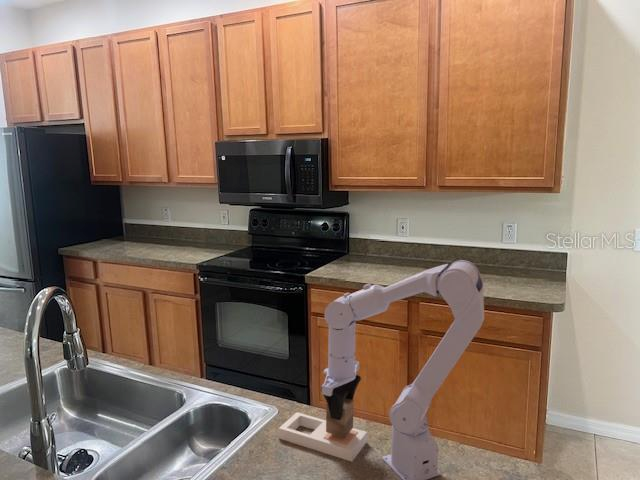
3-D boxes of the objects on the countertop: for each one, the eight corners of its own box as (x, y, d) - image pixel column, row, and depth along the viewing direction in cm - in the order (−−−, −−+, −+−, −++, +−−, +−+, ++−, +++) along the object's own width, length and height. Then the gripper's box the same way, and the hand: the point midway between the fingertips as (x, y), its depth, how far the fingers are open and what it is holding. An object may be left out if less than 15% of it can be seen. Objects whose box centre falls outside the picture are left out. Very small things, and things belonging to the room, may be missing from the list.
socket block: (366, 442, 105) (366, 431, 104) (351, 461, 98) (352, 449, 97) (296, 421, 113) (296, 411, 113) (278, 438, 106) (278, 427, 106)
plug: (352, 427, 104) (353, 400, 103) (344, 437, 100) (345, 409, 99) (335, 422, 106) (335, 395, 105) (326, 432, 102) (326, 404, 101)
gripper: (339, 339, 108) (338, 395, 110) (308, 361, 96) (308, 424, 98) (368, 344, 105) (366, 402, 107) (339, 368, 93) (339, 433, 95)
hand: (341, 413), depth 102 cm, fingers closed on plug, 4 cm apart
